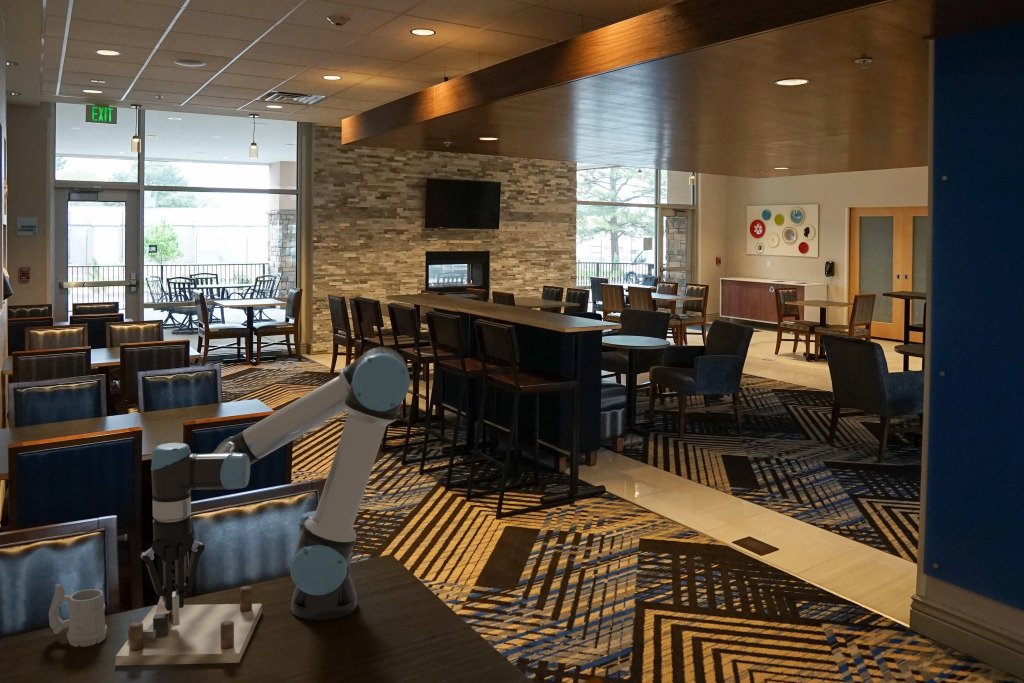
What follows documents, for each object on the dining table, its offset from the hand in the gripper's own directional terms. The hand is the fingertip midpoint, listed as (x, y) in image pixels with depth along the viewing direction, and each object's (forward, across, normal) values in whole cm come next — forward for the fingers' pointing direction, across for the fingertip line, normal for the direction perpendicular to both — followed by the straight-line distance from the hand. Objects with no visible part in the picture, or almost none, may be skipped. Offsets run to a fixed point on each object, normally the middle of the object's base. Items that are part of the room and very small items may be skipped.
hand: (174, 623), depth 176 cm
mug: (+3, +17, -10) cm, 20 cm away
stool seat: (+3, -4, +2) cm, 5 cm away
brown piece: (+1, +1, -4) cm, 4 cm away
